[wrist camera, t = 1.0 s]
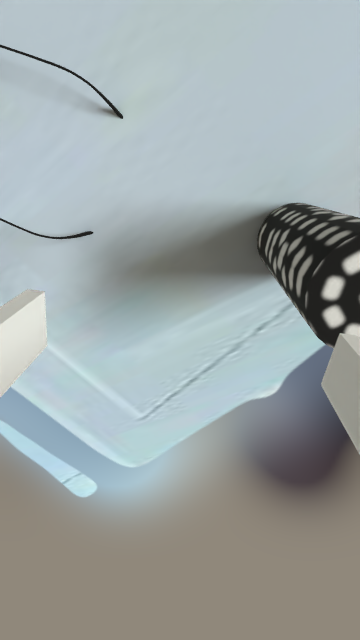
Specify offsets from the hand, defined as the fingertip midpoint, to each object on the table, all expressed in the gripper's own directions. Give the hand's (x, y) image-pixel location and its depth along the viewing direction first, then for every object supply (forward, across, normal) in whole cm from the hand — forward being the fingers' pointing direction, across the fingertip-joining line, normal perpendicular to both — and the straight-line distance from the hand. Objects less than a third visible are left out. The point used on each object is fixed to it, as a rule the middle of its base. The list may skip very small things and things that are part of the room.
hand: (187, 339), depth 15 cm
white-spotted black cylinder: (+27, +11, +1) cm, 29 cm away
